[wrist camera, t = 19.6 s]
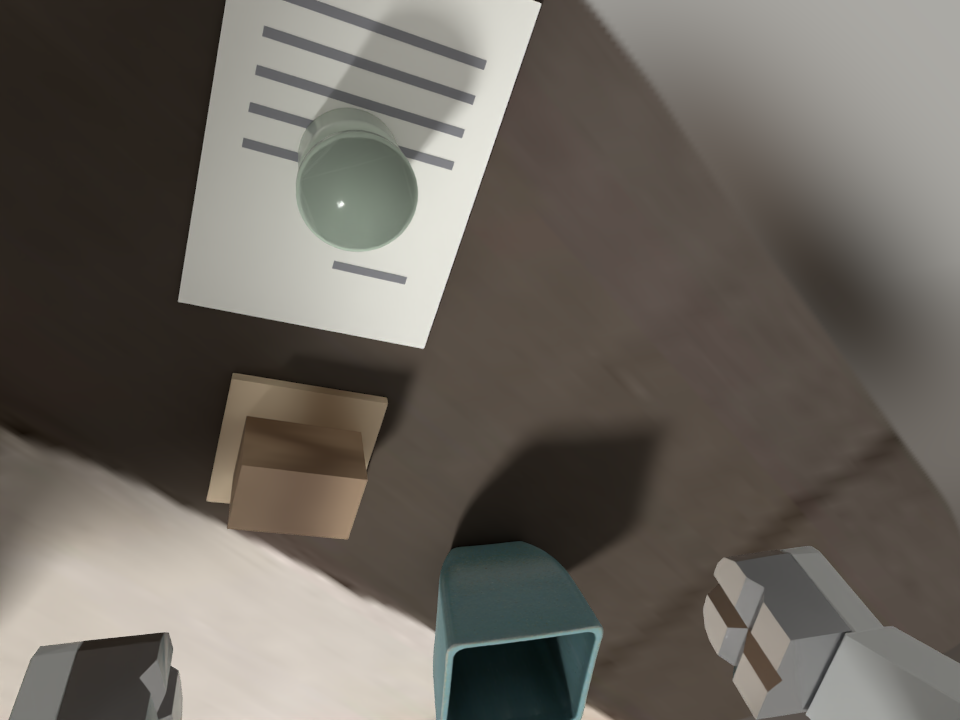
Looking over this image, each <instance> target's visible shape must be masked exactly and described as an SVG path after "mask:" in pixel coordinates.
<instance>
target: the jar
mask: <svg viewBox="0 0 960 720" xmlns="http://www.w3.org/2000/svg"><path fill="white" fill-rule="evenodd" d="M296 200H297V205H298V209H299V212H300V214H301V217H302V219H303V220H304V222H305V224H306V225H307V227H308V228H309V229H310V230H311V232H312V233H314V234H315V235H316V236H317V237H318V238H319V239H321V240H322V241H323V242H325V243H327V244H328V245H330V246H333V247H335V248H338V249H341V250H345V251H351V252H364V251H371V250H375V249H378V248H381V247H383V246H385V245H387V244H389V243H391V242H392V241H394V240H395V239H396V238H398V237H399V236H400V235H401V234H402V233H403V232H404V231H405V230H406V228H407V227H408V225H409V224H410V222H411V220H412V218H413V216H414V214H415V211H416V207H417V202H418V186H417V180H416V177H415V174H414V171H413V169H412V167H411V165H410V163H409V161H408V159H407V158H406V156H405V155H404V153H403V152H402V151H401V150H400V148H399V146H398V144H397V142H396V140H395V138H394V136H393V134H392V132H391V131H390V129H389V128H388V127H387V126H386V125H385V123H383V122H382V121H381V120H380V119H379V118H377V117H376V116H375V115H373V114H371V113H369V112H367V111H364V110H361V109H356V108H338V109H333V110H330V111H327V112H325V113H323V114H321V115H320V116H319V117H317V118H316V119H315V120H314V121H312V122H311V123H310V125H309V126H308V127H307V128H306V130H305V132H304V133H303V136H302V138H301V140H300V144H299V149H298V173H297V178H296Z"/></svg>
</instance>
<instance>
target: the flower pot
mask: <svg viewBox="0 0 960 720" xmlns="http://www.w3.org/2000/svg"><path fill="white" fill-rule="evenodd" d="M602 637H603V627H602V626H601V624H600V623H599V621H598V619H597V618H596V616H595V614H594V613H593V611H592V609H591V608H590V606H589V605H588V603H587V601H586V600H585V598H584V597H583V595H582V593H581V592H580V590H579V589H578V587H577V585H576V584H575V582H574V581H573V579H572V578H571V576H570V575H569V574H568V572H567V571H566V570H565V568H564V567H563V566H562V565H561V564H560V563H559V562H558V561H557V560H556V559H554V558H553V557H552V556H551V555H549V554H548V553H546V552H545V551H543V550H541V549H540V548H538V547H535V546H533V545H531V544H528V543H526V542H523V541H516V542H506V543H498V544H488V545H477V546H466V547H457V548H454V549H452V550H451V551H450V552H449V554H448V555H447V557H446V559H445V561H444V563H443V566H442V569H441V574H440V580H439V594H438V608H437V620H436V632H435V643H434V655H433V677H434V693H435V708H436V720H581V718H582V715H583V711H584V708H585V703H586V699H587V694H588V690H589V685H590V681H591V677H592V673H593V669H594V665H595V661H596V657H597V654H598V650H599V646H600V643H601V640H602Z"/></svg>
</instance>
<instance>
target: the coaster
mask: <svg viewBox="0 0 960 720" xmlns="http://www.w3.org/2000/svg"><path fill="white" fill-rule="evenodd" d="M387 405H388V401H387V398H386V397H380V396H374V395H368V394H361V393H355V392H349V391H343V390H337V389H331V388H324V387H318V386H312V385H306V384H300V383H294V382H288V381H281V380H275V379H269V378H263V377H257V376H251V375H244V374H238V373H233V374H232V379H231V384H230V389H229V393H228V398H227V403H226V408H225V413H224V417H223V422H222V427H221V432H220V437H219V442H218V446H217V451H216V456H215V461H214V466H213V470H212V475H211V480H210V485H209V490H208V495H207V501H209V502H219V503H229V504H230V499H231V490H232V481H233V474H234V469H235V465H236V461H237V456H238V452H239V447H240V443H241V438H242V434H243V429H244V425H245V421H246V416H251V417H258V418H265V419H272V420H279V421H286V422H293V423H300V424H307V425H314V426H321V427H328V428H335V429H342V430H349V431H356V432H361V435H362V443H363V450H364V458H365V465H366V469H367V466H368V463H369V460H370V457H371V454H372V451H373V448H374V445H375V442H376V439H377V436H378V433H379V430H380V427H381V424H382V421H383V418H384V415H385V411H386V408H387Z"/></svg>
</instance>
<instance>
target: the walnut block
mask: <svg viewBox="0 0 960 720" xmlns="http://www.w3.org/2000/svg"><path fill="white" fill-rule="evenodd" d="M366 483H367V472H366V465H365V458H364V450H363V443H362V435H361V432H356V431H349V430H342V429H335V428H328V427H321V426H314V425H307V424H300V423H293V422H286V421H279V420H272V419H265V418H258V417H251V416H246V421H245V425H244V429H243V434H242V438H241V443H240V447H239V452H238V456H237V461H236V465H235V469H234V474H233V481H232V490H231V499H230V508H229V516H228V525H227V529H236V530H247V531H259V532H270V533H281V534H293V535H304V536H316V537H327V538H338V539H348V537H349V534H350V531H351V528H352V525H353V522H354V519H355V516H356V513H357V510H358V507H359V504H360V501H361V498H362V495H363V492H364V489H365V486H366Z"/></svg>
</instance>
